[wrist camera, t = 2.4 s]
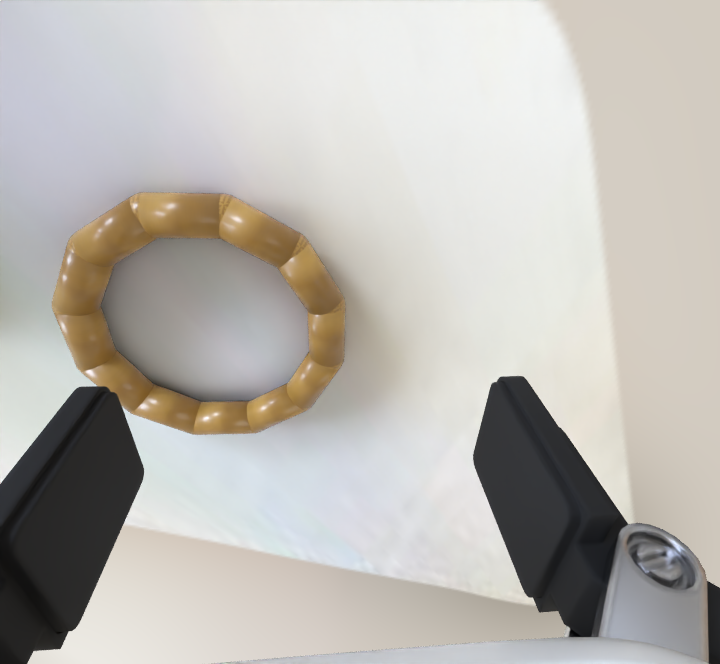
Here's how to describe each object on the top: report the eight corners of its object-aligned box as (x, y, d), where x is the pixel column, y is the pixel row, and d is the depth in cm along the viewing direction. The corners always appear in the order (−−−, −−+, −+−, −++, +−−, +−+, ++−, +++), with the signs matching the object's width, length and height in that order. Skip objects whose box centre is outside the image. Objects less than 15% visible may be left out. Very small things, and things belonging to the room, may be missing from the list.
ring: (22, 185, 11) (-9, 196, 10) (346, 191, 12) (347, 202, 11) (115, 420, 16) (100, 444, 15) (342, 415, 16) (343, 437, 15)
